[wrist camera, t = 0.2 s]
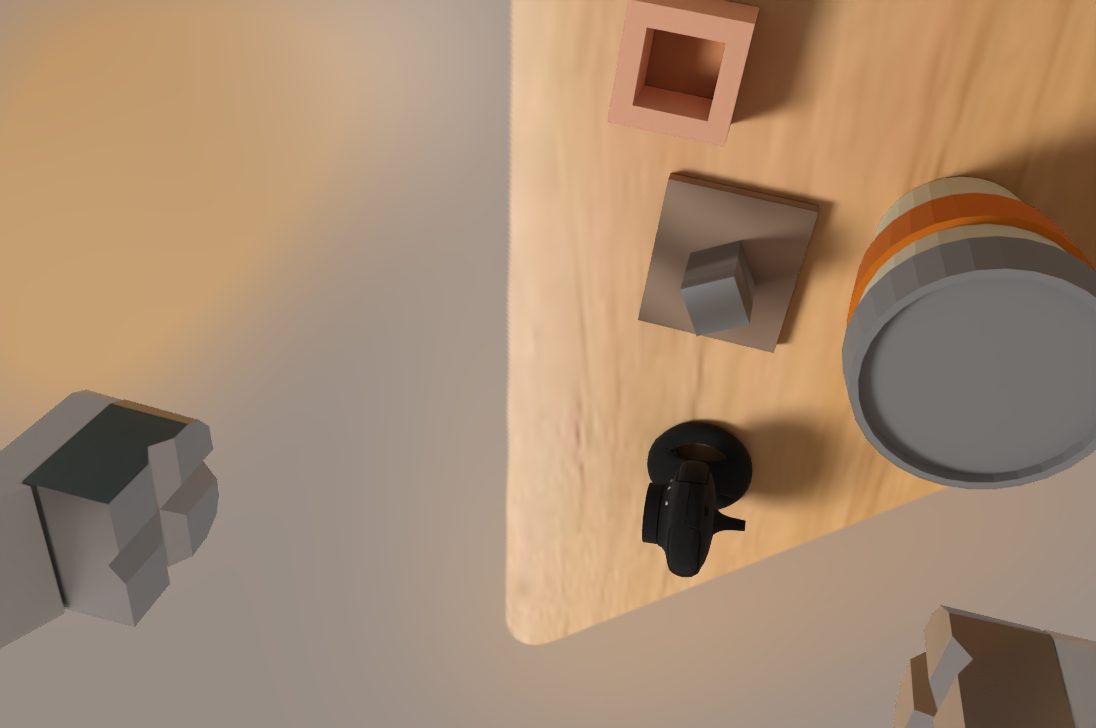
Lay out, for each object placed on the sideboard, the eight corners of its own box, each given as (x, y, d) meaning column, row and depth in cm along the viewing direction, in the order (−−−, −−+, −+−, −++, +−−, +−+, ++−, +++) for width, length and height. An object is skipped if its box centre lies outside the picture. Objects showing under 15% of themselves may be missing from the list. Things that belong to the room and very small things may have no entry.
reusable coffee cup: (799, 220, 57) (791, 346, 44) (1006, 100, 50) (1062, 208, 38) (905, 372, 60) (924, 527, 48) (1111, 278, 54) (1193, 429, 42)
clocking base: (670, 173, 57) (655, 211, 52) (818, 205, 56) (817, 248, 51) (640, 312, 63) (624, 359, 58) (774, 345, 62) (769, 395, 57)
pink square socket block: (641, -16, 52) (628, -1, 49) (759, 7, 51) (754, 24, 48) (620, 100, 56) (607, 121, 52) (730, 124, 55) (724, 147, 51)
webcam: (650, 412, 67) (624, 502, 59) (757, 424, 65) (746, 519, 57) (647, 496, 71) (623, 592, 63) (748, 510, 69) (737, 610, 61)
